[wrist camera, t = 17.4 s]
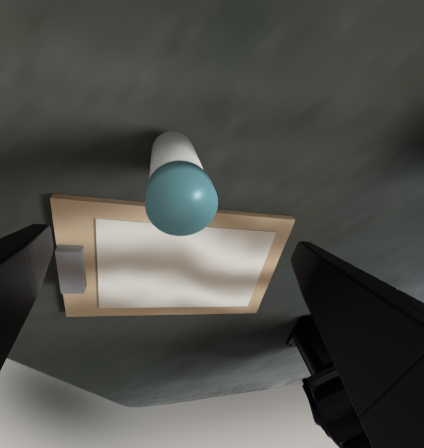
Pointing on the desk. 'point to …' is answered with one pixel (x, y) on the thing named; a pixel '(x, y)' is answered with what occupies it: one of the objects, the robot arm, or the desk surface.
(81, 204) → the clipboard
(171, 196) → the marker
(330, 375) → the robot arm
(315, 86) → the desk surface
